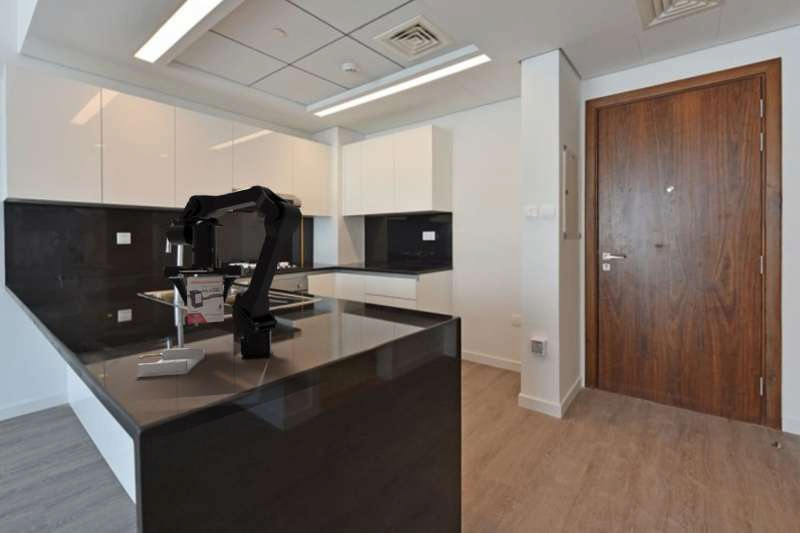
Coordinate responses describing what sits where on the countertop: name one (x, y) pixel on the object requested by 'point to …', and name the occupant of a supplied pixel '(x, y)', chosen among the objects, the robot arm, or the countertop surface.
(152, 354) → the key
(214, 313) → the ink box
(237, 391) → the countertop surface
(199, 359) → the socket
